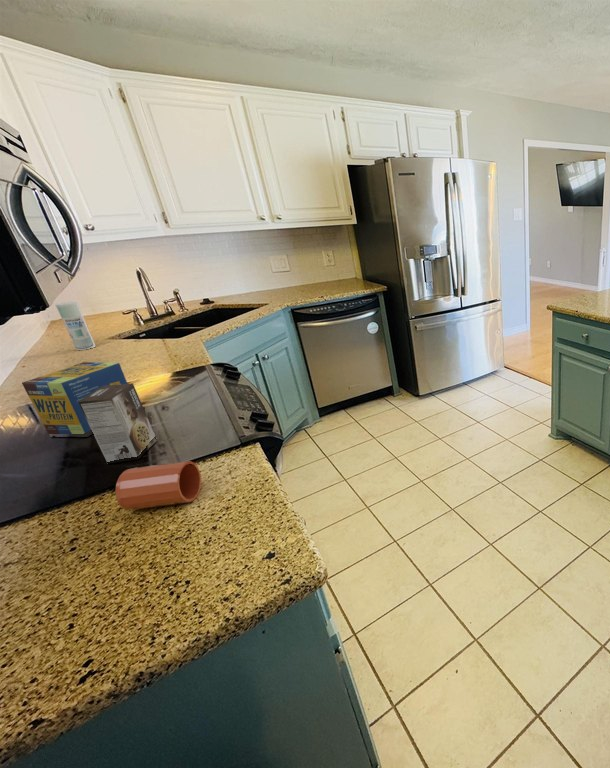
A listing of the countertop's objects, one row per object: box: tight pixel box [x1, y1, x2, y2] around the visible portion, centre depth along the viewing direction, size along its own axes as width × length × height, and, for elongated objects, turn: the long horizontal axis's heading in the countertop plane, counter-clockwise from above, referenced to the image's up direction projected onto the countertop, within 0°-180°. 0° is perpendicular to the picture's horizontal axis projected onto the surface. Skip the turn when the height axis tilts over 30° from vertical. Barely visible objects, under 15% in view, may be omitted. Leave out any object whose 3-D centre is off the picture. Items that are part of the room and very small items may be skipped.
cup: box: [115, 460, 202, 511], centre depth 79 cm, size 8×8×10 cm
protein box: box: [21, 361, 128, 435], centre depth 108 cm, size 10×15×16 cm
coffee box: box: [78, 382, 156, 463], centre depth 94 cm, size 9×6×16 cm
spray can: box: [55, 301, 96, 351], centre depth 174 cm, size 6×6×20 cm
